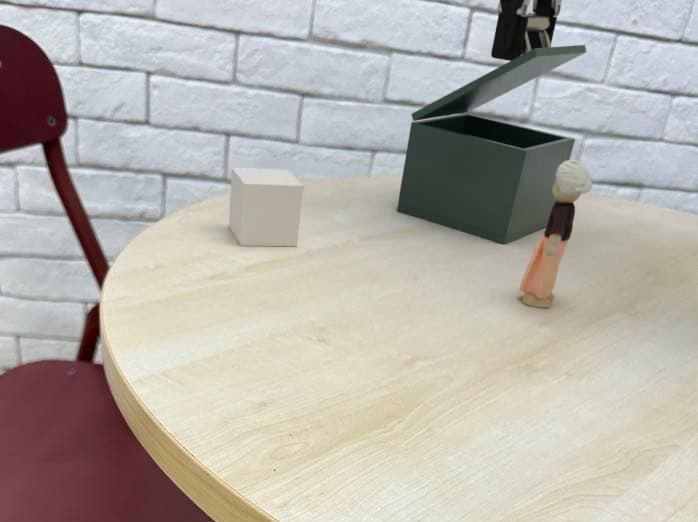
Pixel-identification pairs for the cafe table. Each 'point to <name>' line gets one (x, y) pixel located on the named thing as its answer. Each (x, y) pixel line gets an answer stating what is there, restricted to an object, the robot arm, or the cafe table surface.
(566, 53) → the bin lid
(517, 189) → the bin
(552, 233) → the grandmother figurine
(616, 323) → the cafe table surface
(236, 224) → the light grey cube
